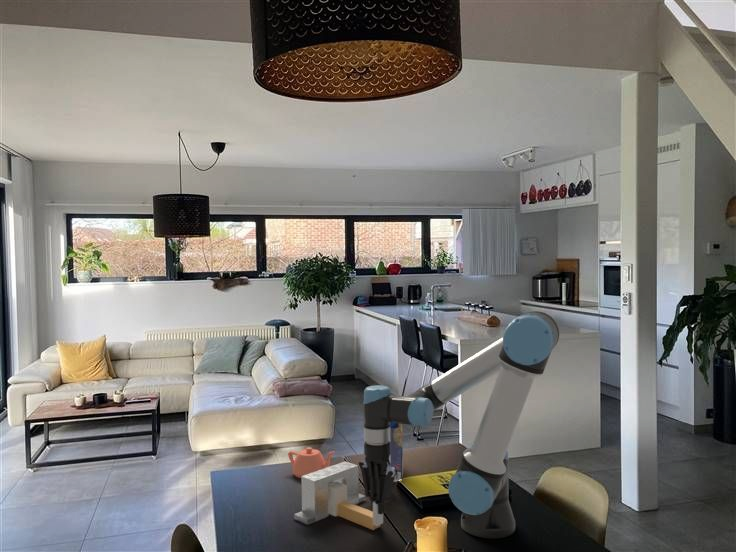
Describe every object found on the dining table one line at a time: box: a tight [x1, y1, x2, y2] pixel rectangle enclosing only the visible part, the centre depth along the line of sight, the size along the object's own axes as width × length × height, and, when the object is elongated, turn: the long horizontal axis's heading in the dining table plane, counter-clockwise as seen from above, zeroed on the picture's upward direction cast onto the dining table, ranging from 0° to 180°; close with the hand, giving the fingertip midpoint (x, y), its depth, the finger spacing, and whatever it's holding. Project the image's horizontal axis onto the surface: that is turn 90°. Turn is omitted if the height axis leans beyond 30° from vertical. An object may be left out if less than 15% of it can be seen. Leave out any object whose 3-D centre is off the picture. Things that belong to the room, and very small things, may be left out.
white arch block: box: [293, 461, 367, 526], centre depth 184 cm, size 6×24×12 cm, turn 136°
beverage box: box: [390, 422, 404, 483], centre depth 212 cm, size 7×11×22 cm, turn 175°
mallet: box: [328, 481, 381, 531], centre depth 178 cm, size 20×5×8 cm, turn 46°
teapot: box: [287, 446, 336, 479], centre depth 215 cm, size 12×18×10 cm
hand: (378, 523), depth 170 cm, fingers closed
